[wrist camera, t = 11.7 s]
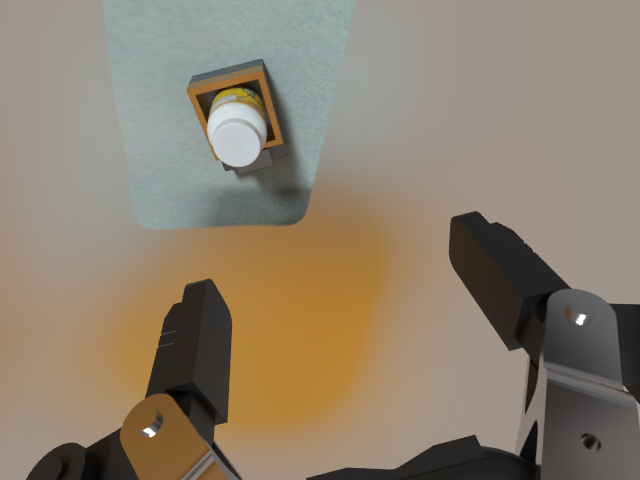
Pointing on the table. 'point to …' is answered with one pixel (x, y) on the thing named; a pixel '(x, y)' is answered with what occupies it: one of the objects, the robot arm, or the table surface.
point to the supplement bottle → (237, 125)
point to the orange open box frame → (254, 78)
